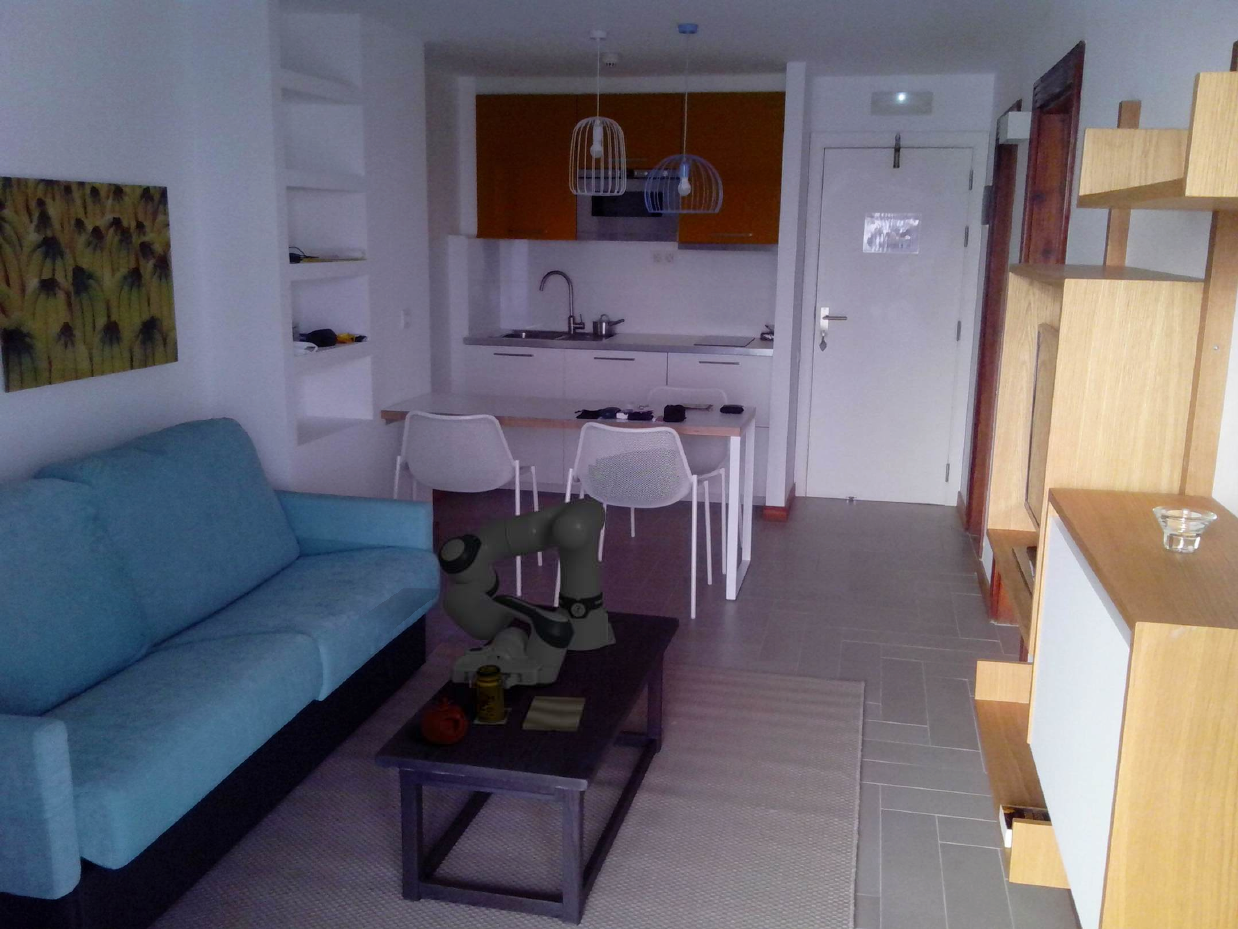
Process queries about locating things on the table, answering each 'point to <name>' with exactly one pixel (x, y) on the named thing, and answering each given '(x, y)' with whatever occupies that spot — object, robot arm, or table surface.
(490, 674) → the condiment
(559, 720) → the board
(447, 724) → the pomegranate
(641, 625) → the table surface
